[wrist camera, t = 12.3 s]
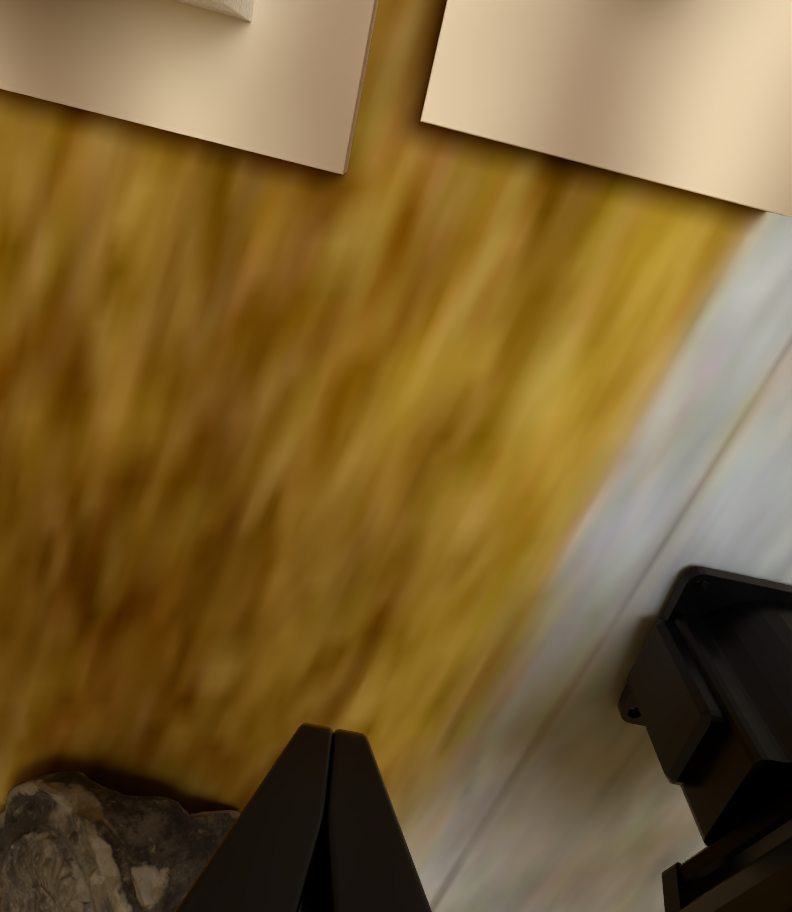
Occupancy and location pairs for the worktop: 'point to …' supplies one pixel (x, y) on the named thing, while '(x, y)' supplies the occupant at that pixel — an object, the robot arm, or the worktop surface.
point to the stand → (628, 88)
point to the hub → (201, 69)
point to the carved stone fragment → (100, 847)
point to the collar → (224, 7)
